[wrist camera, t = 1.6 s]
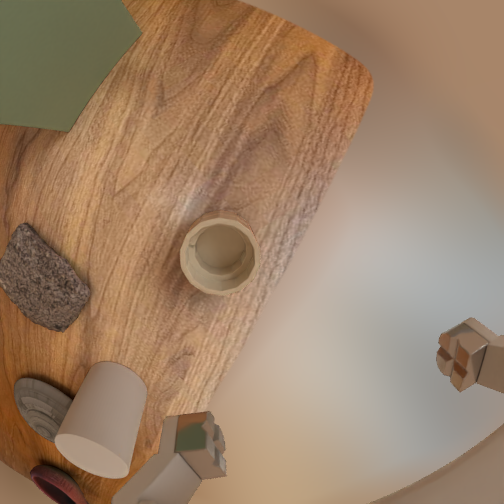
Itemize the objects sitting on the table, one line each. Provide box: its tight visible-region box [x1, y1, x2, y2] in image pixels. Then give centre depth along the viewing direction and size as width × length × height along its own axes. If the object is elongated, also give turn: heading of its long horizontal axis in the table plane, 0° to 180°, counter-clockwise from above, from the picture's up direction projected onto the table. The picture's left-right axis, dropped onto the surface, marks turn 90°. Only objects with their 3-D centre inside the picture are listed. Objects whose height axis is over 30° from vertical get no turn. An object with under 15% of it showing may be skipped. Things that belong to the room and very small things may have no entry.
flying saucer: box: [14, 378, 73, 443], centre depth 29 cm, size 15×15×6 cm
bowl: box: [30, 465, 89, 504], centre depth 35 cm, size 16×13×8 cm
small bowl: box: [180, 210, 260, 296], centre depth 25 cm, size 6×6×4 cm
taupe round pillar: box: [55, 362, 147, 478], centre depth 25 cm, size 8×8×12 cm
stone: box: [0, 223, 91, 332], centre depth 25 cm, size 12×9×4 cm
